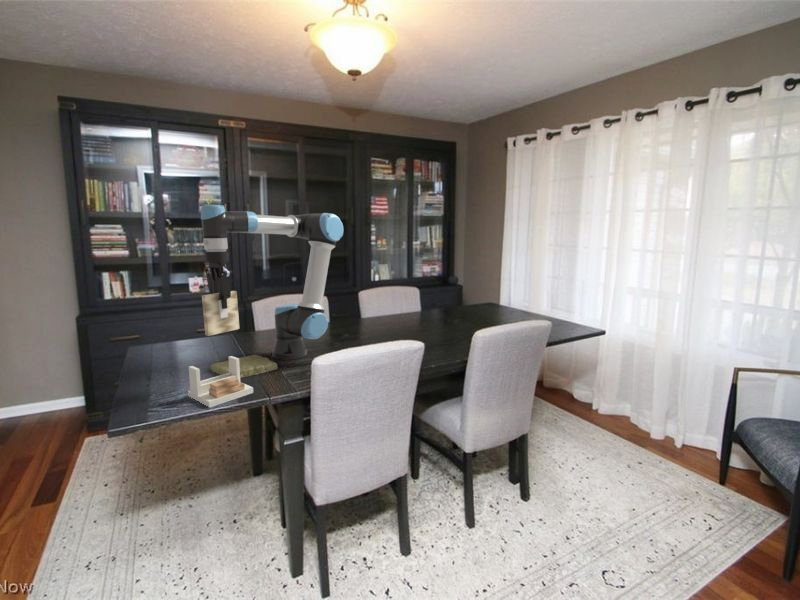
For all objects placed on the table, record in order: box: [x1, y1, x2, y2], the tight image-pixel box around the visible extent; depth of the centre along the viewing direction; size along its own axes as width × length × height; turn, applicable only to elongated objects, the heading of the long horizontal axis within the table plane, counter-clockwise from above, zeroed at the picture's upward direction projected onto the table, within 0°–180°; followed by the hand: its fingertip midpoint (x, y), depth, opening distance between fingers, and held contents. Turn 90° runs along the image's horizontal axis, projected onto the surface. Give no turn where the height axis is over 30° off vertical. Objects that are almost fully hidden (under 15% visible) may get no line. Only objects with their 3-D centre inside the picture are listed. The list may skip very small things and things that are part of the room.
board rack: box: [187, 355, 254, 408], centre depth 144 cm, size 16×14×11 cm
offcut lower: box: [209, 381, 245, 398], centre depth 142 cm, size 10×5×2 cm, turn 142°
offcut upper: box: [210, 377, 239, 392], centre depth 141 cm, size 8×4×2 cm, turn 142°
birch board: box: [201, 290, 240, 337], centre depth 149 cm, size 12×2×14 cm, turn 144°
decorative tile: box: [210, 354, 278, 379], centre depth 171 cm, size 19×20×4 cm
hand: (221, 316), depth 149 cm, fingers closed on birch board, 2 cm apart
